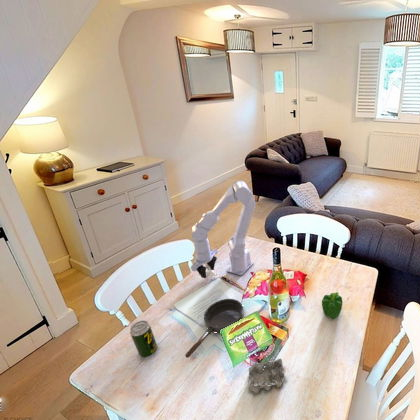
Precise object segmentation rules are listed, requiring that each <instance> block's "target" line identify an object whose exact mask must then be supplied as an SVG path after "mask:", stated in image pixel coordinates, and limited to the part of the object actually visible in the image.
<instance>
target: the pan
mask: <svg viewBox="0 0 420 420" xmlns="http://www.w3.org/2000/svg"><path fill="white" fill-rule="evenodd" d="M243 317H244V318H245V310H244V305H243V304H242V303H241V302H240V301H239V300H237V299H235V298H223V299H219V300H217V301H215V302H214V303H212V304H211V305H209V307H208V308H206V310H205V311H204V313H203V322H204V326H205V329H206V330H207V328H209V327H211V328H213V332H212V333H213V334H217V335H221V334H220V330H221V329H223V328H225V327H227V326H229V325H231V324H233V323H235V322H237V321H239V320H240V319H242V318H243ZM244 318H243V319H244ZM206 327H207V328H206ZM214 332H217V333H214ZM212 333H211V334H212Z"/></svg>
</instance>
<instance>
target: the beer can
mask: <svg viewBox="0 0 420 420" xmlns="http://www.w3.org/2000/svg"><path fill="white" fill-rule="evenodd" d="M129 334H130V336H131V339H132V342H133V343H134V346H135V349H136V351H137V353H138V356H139V357H140V358H142V359H148V358H151V357H152V356H153V355H155V354H156V352H157V350H158V344H157V340H156V337H155V335H154V332H153V329H152V328H151V324H150V322H148V320H139V321H137V322H135V323H133V324H132V325H131V326H130V328H129Z"/></svg>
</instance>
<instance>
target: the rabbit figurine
mask: <svg viewBox="0 0 420 420" xmlns="http://www.w3.org/2000/svg"><path fill="white" fill-rule="evenodd" d="M204 265H205V266H204V267H206V279H211V280H213V281H214V279H216V277H217V273H216V272H215V270H214V271H213V270H211V268H210V266H209V265H208V264H207V263H205V264H204ZM209 270H210V271H209ZM197 275H198V276H201V275H200V274H199V272H197Z"/></svg>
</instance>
